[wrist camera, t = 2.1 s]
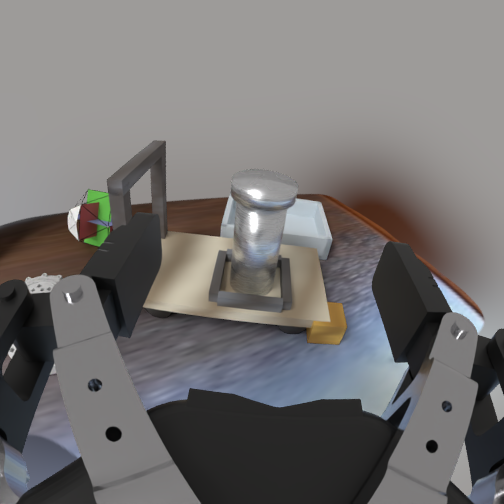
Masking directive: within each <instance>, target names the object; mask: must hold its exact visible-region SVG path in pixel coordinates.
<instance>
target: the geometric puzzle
mask: <svg viewBox="0 0 504 504" xmlns="http://www.w3.org/2000/svg"><path fill="white" fill-rule="evenodd" d="M87 192H88V197H87V204H86V203H84V204H81V205H79V206H77V207H74V208H72V209H70V211H69V214H68V216H67V217H68V228H69V231H70V232H71V233H72V234H73V235H74V236H75V237H76V238H77V240H78V241H80V240H83V239H84V243H87V244H91V245H94V246H97V247H100V245H101V244H102V243H104V240H105V239H106V238H107V236H108V235H109V234H110V232H112V231H113V225H112V218H111V211H110V203H109V195H108V193H106V192H100V191H95V190H89V189H88V191H87ZM84 198H85V197H84ZM80 207H81V208H80ZM79 210H80V214H79ZM77 219H79V220H80V222H79V233H77V232H78V231H77V226H76V223H77ZM78 234H79V239H78ZM81 242H82V241H81Z"/></svg>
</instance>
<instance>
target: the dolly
mask: <svg viewBox="0 0 504 504" xmlns="http://www.w3.org/2000/svg"><path fill="white" fill-rule="evenodd" d="M150 168H151V193H152V212H153V214H158V215H159V218H160V230H161V243H162V262H161V267H160V269H159V272H158V274H157V276H156V278H155V280H154V283H153V285H152V287H151V289H150V292H149V294H148V296H147V298H146V301H145V303H144V305H143V307H145V308H146V310H147V311H148V312H149V313H150V314H151V315H153V316H155V317H159V318H165V317H168V316H169V315H170V314H171V312H176V313H183V314H190V315H197V316H204V317H212V318H220V319H228V320H236V321H245V322H254V323H263V324H273V325H279V327H280V329H281V330H282V331H283V332H285V333H288V334H296V333H300V332H302V331H304V330H305V329H306V333H307V343H319V344H338V345H339V343H340V341H341V339H342V337H343V335H344V333H345V331H346V329H347V324H346V319H345V315H344V310H343V306H342V303H333V302H327V299H326V293H325V288H324V282H323V277H322V272H321V267H320V262H319V257H318V252H317V248H309V247H301V246H293V245H284V244H281V247H280V252H279V257H278V263H277V268H276V273H275V278H274V283H273V288H272V290H271V291H270V292H269V293H268V294H267V295H265V296H259V295H251V294H242V293H237V292H235V291H234V290H233V289H232V287H231V285H230V272H231V260H232V247H233V238H225V237H216V236H207V235H198V234H189V233H180V232H171V231H168V230H167V206H166V141H153V142H152V143H150V144H149V145H148V146H147V147H145V148H144V149H143V150H142V151H140V152H139V153H138V154H137V155H135V156H134V157H133V158H132V159H131V160H130V161H128V162H127V163H126V164H125V165H124V166H122V167H121V168H120V169H119V170H118V171H117V172H115V173H114V174H113V175H112V176H111V177H110V178H108V179H107V186H108V195H109V203H110V211H111V218H112V225H113V230H115V229H116V228H118V227H119V226H121V225H127V224H128V223H129V222H130V220H131V219H132V211H131V201H130V188H131V187H132V186H133V185H134V184H135V183H136V182H137V181H138V180H139V179H140V178H141V177H142V176H143V175H144V174H145V173H146V172H147V171H148V169H150Z"/></svg>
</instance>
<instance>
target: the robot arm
mask: <svg viewBox="0 0 504 504" xmlns="http://www.w3.org/2000/svg"><path fill="white" fill-rule="evenodd" d="M161 262H162V243H161V230H160V218H159V215H158V214H152V213H140V212H137V213H136V214H135V215H134V216H133V218H132V219H131V220H130V222H129V223H128V224H127V225H121V226H119V227H118V228H116V229H115V230H113V231H112V232H110V234H109V235H108V236H107V238H106V239H105V240H104V243H102V244H101V245H100V247H99V248H98V250H97V251H96V252H95V253H94V255H93V256H92V258H91V259H90V260H89V262H88V263H87V264H86V266H85V267H84V269H83V270H82V271H81V273H80V274H79V275H72V276H68V277H66V278H64V279H62V280H60V281H59V282H57V283H56V284H55V285H54V287H53V288H52V290H51V292H46V293H33V294H30V291H29V289H28V287H27V285H26V283H25V282H24V281H22V280H10V281H7V282H5V283H3V284H1V285H0V504H504V417H503V418H502V419H501V420H500V421H499V422H498V420H497V416H496V413H495V409H494V406H493V403H492V400H491V397H490V392H491V391H492V390H493V389H494V388H495V387H496V386H497V385H498V384H499V383H500V386H501V388H502V391H503V394H504V329H499V330H498V331H497V332H496V333H495V335H494V336H493V337H492V339H489V338H486V337H483V336H479V335H478V334H477V330H476V328H475V326H474V325H473V324H472V322H471V321H470V320H469V319H467V318H466V317H464V316H463V315H461V314H458V313H454V312H452V310H451V309H450V307H449V305H448V303H447V301H446V299H445V297H444V295H443V294H442V292H441V290H440V288H438V285H437V283H436V281H435V280H434V279H433V276H432V274H431V272H430V271H429V269H428V268H427V267H426V266H425V265H424V264H423V263H422V262H421V261H420V260H419V259H417V257H416V256H415V254H414V252H413V251H412V249H411V247H410V246H409V245H408V244H405V243H398V242H391V241H389V242H388V243H387V244H386V245H385V247H384V250H383V253H382V255H381V258H380V261H379V263H378V266H377V268H376V271H375V273H374V276H373V280H372V291H373V294H374V297H375V300H376V303H377V306H378V309H379V312H380V315H381V318H382V321H383V324H384V328H385V331H386V334H387V337H388V340H389V344H390V347H391V351H392V354H393V357H394V361H395V363H400V362H408V364H409V367H408V368H407V370H406V371H405V373H404V375H403V377H402V379H401V381H400V383H399V385H398V387H397V389H396V391H395V393H394V395H393V397H392V398H391V400H390V402H389V404H388V406H387V408H386V410H385V411H384V413H383V414H382V416H381V417H379V416H377V415H374V414H372V413H369V412H365V411H362V406H361V399H321V400H316V401H312V402H307V403H302V404H297V405H292V406H287V407H273V406H270V405H266V404H263V403H260V402H256V401H253V400H250V399H247V398H244V397H241V396H238V395H235V394H229V393H221V392H213V391H206V390H199V389H192V388H190V389H189V394H188V399H187V400H178V401H172V402H168V403H164V404H161V405H158V406H156V407H153V408H151V409H149V410H147V411H146V410H145V408H144V406H143V404H142V402H141V400H140V397H139V395H138V393H137V391H136V389H135V387H134V384H133V382H132V380H131V378H130V375H129V373H128V371H127V369H126V366H125V364H124V361H123V359H122V357H121V354H120V352H119V349H118V347H117V344H116V339H117V337H118V336H123V337H128V338H130V336H131V334H132V331H133V329H134V327H135V324H136V322H137V319H138V317H139V315H140V312H141V310H142V308H143V305H144V303H145V301H146V298H147V296H148V294H149V292H150V289H151V287H152V285H153V283H154V280H155V278H156V276H157V274H158V272H159V269H160V267H161ZM12 344H14V346H15V348H16V351H15V353H14V355H13V357H12V359H11V361H10V363H9V365H8V367H7V369H6V371H5V373H4V376H3V375H2V365H3V362H4V360H5V358H6V356H7V354H8V352H9V350H10V348H11V346H12ZM54 363H55V367H56V372H57V376H58V381H59V385H60V389H61V393H62V397H63V401H64V404H65V408H66V411H67V415H68V418H69V422H70V425H71V428H72V431H73V434H74V437H75V440H76V443H77V446H78V449H79V451H80V454H81V457H80V458H78V459H77V460H75V461H74V462H72V463H71V464H69V465H68V466H66V467H65V468H63V469H62V470H60V471H59V472H57V473H55V474H54V475H52V476H51V477H49V478H47V479H46V480H44V481H43V482H41V483H40V484H38V485H36V486H35V487H33V488H31V489H30V490H28V489H27V485H26V484H27V483H28V482H29V473H28V471H27V467H26V463H25V460H24V458H23V456H22V451H23V448H24V445H25V441H26V438H27V435H28V432H29V429H30V426H31V423H32V420H33V417H34V414H35V411H36V409H37V406H38V403H39V401H40V398H41V395H42V393H43V390H44V388H45V385H46V383H47V380H48V378H49V375H50V373H51V370H52V368H53V366H54ZM464 440H465V445H466V450H467V455H468V462H469V467H470V474H471V481H472V492H471V494H470V495H468V496H466V495H464V493H462V491H460V490H459V488H457V487H456V486H455V485H454V484H453V483H452V482H451V481H450V479H451V476H452V474H453V471H454V468H455V466H456V463H457V460H458V458H459V455H460V452H461V449H462V446H463V443H464Z"/></svg>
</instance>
